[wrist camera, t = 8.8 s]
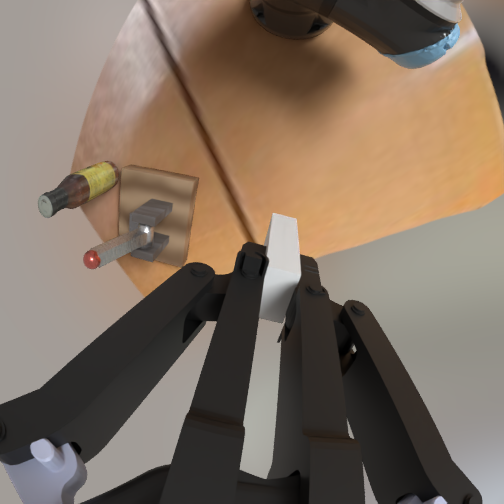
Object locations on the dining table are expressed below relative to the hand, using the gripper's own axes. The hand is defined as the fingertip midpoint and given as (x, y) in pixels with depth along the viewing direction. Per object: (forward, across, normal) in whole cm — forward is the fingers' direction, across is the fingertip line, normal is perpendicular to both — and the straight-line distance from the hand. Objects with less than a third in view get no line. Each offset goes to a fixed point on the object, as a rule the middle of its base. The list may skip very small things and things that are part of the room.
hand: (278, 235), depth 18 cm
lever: (+28, -21, -16) cm, 38 cm away
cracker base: (+34, -22, -16) cm, 44 cm away
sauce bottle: (+34, -35, -10) cm, 50 cm away
